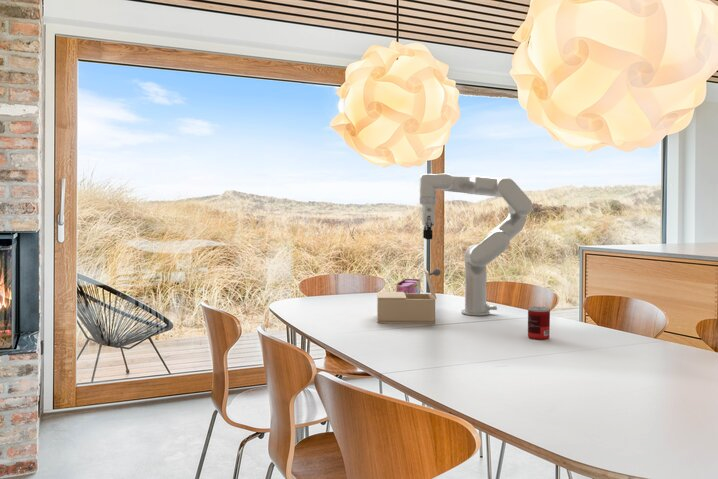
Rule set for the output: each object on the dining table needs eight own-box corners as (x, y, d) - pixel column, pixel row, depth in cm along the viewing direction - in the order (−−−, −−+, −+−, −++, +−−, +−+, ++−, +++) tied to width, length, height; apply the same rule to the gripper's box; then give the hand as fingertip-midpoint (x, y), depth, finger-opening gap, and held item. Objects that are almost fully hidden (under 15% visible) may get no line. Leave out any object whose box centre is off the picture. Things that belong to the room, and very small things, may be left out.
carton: (430, 315, 255) (431, 292, 254) (435, 323, 237) (435, 297, 236) (377, 315, 255) (377, 291, 255) (377, 323, 237) (377, 297, 237)
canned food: (548, 336, 212) (549, 307, 211) (550, 340, 204) (550, 310, 203) (527, 335, 214) (527, 306, 213) (527, 339, 206) (528, 309, 206)
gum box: (411, 314, 258) (411, 284, 258) (394, 313, 260) (394, 284, 260) (420, 306, 281) (420, 279, 281) (405, 305, 283) (405, 278, 283)
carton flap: (431, 293, 254) (444, 289, 254) (435, 299, 237) (449, 294, 236) (423, 268, 253) (436, 264, 253) (427, 272, 236) (441, 268, 236)
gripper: (438, 200, 250) (438, 239, 250) (434, 201, 267) (434, 238, 268) (421, 200, 250) (421, 239, 251) (418, 201, 267) (418, 238, 268)
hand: (427, 238), depth 259 cm, fingers open, 9 cm apart
